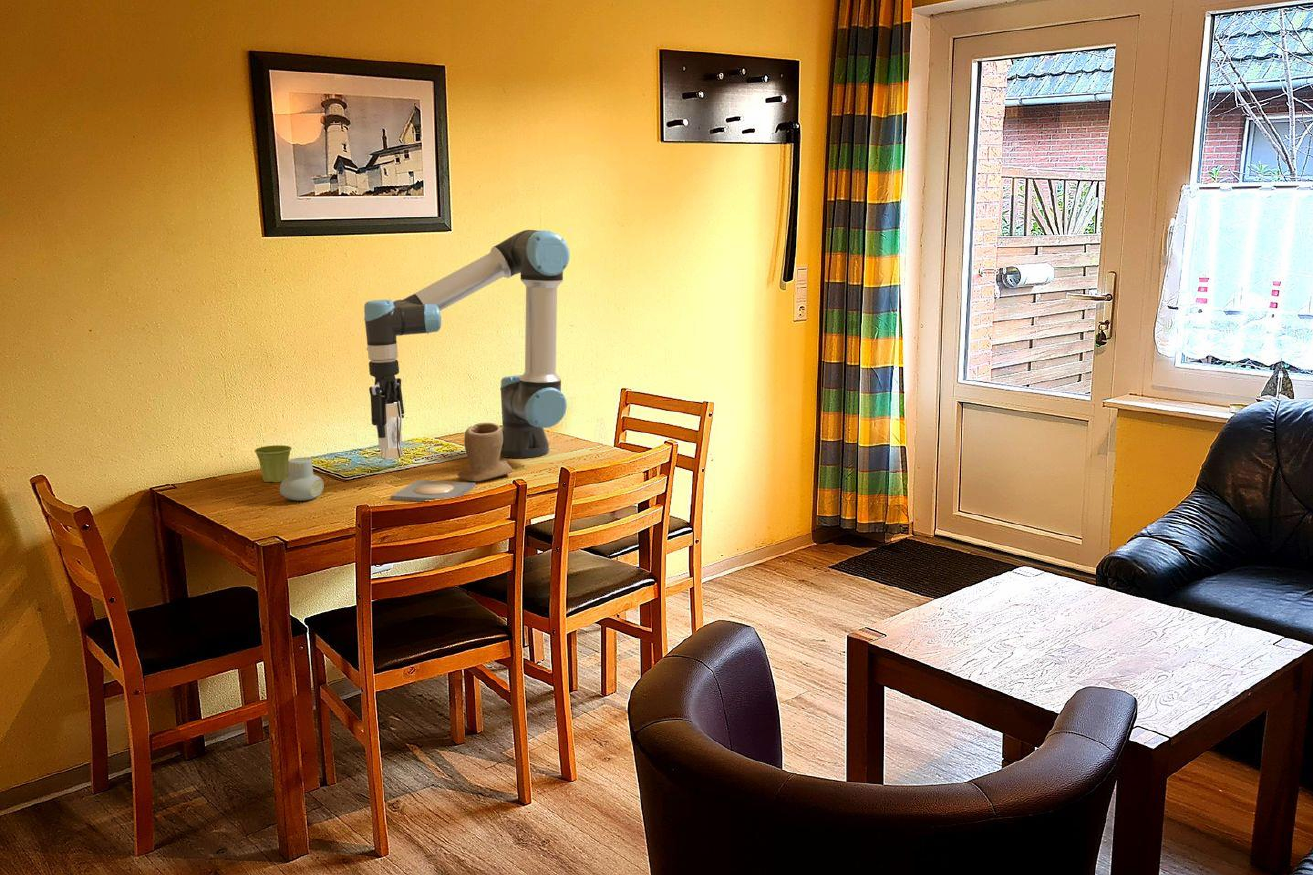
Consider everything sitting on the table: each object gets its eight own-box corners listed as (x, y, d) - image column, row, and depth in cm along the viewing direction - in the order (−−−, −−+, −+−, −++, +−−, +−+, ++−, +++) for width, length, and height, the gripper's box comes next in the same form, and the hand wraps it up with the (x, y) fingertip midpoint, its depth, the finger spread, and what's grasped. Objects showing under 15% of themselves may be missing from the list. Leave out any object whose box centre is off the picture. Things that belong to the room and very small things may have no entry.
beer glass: (398, 460, 295) (393, 404, 292) (373, 459, 297) (368, 404, 293) (409, 453, 302) (404, 399, 298) (385, 453, 303) (380, 398, 300)
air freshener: (307, 504, 280) (304, 465, 278) (277, 503, 282) (273, 464, 279) (327, 493, 291) (324, 455, 288) (298, 492, 292) (294, 454, 290)
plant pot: (283, 474, 311) (281, 443, 309) (300, 479, 304) (297, 448, 302) (251, 480, 304) (248, 449, 302) (267, 486, 298) (264, 454, 296)
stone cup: (477, 487, 294) (474, 431, 291) (452, 479, 303) (449, 424, 300) (524, 477, 304) (522, 422, 301) (498, 469, 313) (496, 416, 310)
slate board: (419, 483, 299) (418, 479, 298) (475, 486, 295) (475, 482, 295) (391, 499, 284) (391, 495, 283) (450, 502, 280) (450, 498, 280)
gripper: (387, 354, 303) (394, 437, 309) (351, 366, 285) (360, 454, 290) (412, 354, 302) (419, 437, 307) (379, 366, 283) (386, 455, 289)
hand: (390, 445), depth 299 cm, fingers closed on beer glass, 6 cm apart
